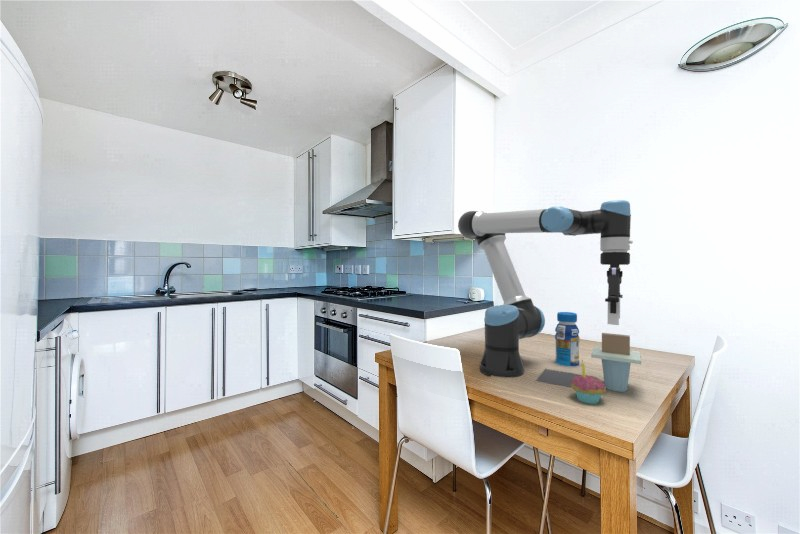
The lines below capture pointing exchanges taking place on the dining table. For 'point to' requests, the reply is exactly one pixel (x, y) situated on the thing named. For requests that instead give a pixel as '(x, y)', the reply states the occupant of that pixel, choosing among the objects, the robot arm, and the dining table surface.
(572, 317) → the beverage bottle
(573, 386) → the cupcake
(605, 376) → the cup
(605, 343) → the lid
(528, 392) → the dining table surface
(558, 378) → the mat
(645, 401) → the dining table surface
